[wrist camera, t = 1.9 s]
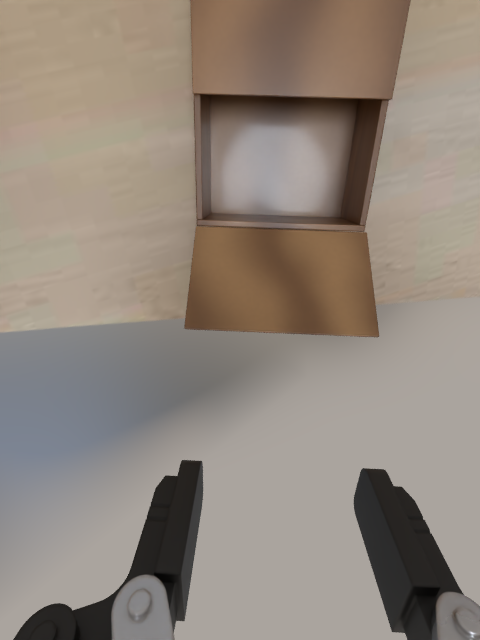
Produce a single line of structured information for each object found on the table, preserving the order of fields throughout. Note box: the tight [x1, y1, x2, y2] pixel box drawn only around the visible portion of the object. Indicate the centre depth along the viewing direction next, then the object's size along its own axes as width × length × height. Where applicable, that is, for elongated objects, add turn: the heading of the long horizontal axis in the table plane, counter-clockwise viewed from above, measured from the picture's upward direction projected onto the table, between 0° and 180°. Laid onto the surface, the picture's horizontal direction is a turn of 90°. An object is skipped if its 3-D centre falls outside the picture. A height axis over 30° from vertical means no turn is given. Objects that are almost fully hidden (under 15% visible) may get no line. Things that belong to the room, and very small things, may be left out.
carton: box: [191, 0, 411, 232], centre depth 25 cm, size 14×18×7 cm
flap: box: [184, 226, 379, 337], centre depth 24 cm, size 14×9×1 cm
